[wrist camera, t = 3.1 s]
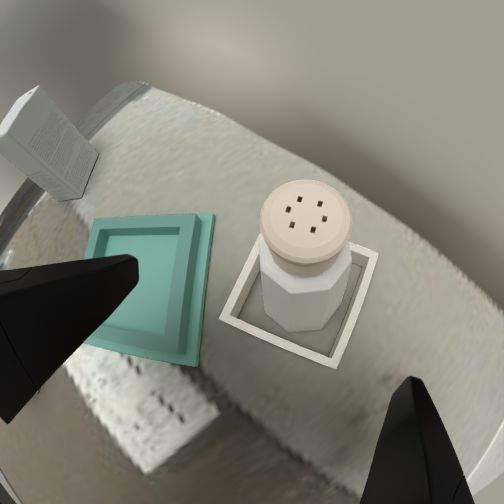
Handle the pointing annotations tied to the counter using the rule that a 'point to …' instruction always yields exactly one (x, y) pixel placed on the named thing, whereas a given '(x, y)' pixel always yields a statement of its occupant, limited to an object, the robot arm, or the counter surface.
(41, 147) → the skincare box
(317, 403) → the counter surface
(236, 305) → the white square tray
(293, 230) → the pepper shaker
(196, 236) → the teal square tray
